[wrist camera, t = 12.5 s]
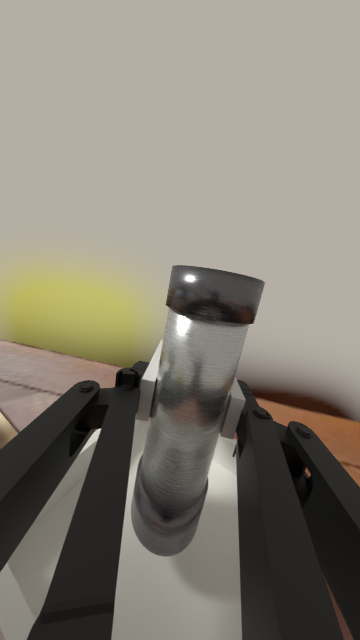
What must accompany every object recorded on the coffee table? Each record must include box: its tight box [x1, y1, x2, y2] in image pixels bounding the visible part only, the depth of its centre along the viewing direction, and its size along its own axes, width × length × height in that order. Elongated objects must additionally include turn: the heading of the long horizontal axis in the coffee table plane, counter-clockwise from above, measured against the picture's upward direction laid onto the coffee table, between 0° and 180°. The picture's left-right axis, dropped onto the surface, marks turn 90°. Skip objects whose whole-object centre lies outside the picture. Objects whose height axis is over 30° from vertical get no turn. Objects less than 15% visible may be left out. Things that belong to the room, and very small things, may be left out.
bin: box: [0, 418, 242, 640], centre depth 13 cm, size 16×16×4 cm
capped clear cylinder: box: [131, 265, 265, 557], centre depth 11 cm, size 5×5×16 cm
